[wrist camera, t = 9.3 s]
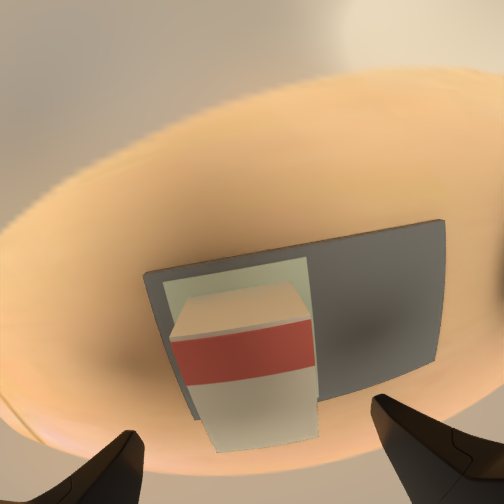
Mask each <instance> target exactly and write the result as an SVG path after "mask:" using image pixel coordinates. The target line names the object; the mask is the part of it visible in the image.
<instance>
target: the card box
mask: <svg viewBox="0 0 504 504" xmlns="http://www.w3.org/2000/svg"><path fill="white" fill-rule="evenodd" d="M169 339H170V345H171V348H172V350H173V353H174V356H175V359H176V362H177V364H178V367H179V370H180V372H181V375H182V378H183V380H184V383H185V385H186V386H187V388H188V390H189V393H190V395H191V398H192V400H193V402H194V405H195V407H196V409H197V412H198V414H199V416H200V419H201V421H202V423H203V425H204V427H205V430H206V432H207V434H208V436H209V438H210V440H211V442H212V444H213V446H214V448H215V450H216V452H217V453H219V452H232V451H242V450H251V449H259V448H266V447H272V446H278V445H284V444H289V443H294V442H299V441H304V440H308V439H313V438H317V437H319V430H318V408H317V390H316V375H315V355H314V343H313V332H312V322H311V318H310V313H309V311H308V310H307V308H306V306H305V305H304V303H303V301H302V299H301V298H300V296H299V294H298V293H297V291H296V289H295V288H294V286H293V284H292V283H291V281H290V280H286V281H281V282H276V283H270V284H265V285H259V286H254V287H248V288H243V289H237V290H231V291H226V292H220V293H214V294H208V295H202V296H195V297H189V298H187V300H186V302H185V305H184V307H183V309H182V311H181V313H180V315H179V317H178V319H177V321H176V323H175V326H174V328H173V330H172V332H171V334H170V336H169Z"/></svg>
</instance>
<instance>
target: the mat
mask: <svg viewBox="0 0 504 504" xmlns="http://www.w3.org/2000/svg"><path fill="white" fill-rule="evenodd" d="M445 265H446V233H445V220H440V219H438V220H432V221H427V222H421V223H416V224H410V225H405V226H399V227H394V228H388V229H383V230H377V231H372V232H366V233H361V234H355V235H350V236H344V237H339V238H333V239H328V240H322V241H317V242H311V243H306V244H300V245H295V246H289V247H284V248H278V249H272V250H267V251H261V252H256V253H250V254H245V255H239V256H234V257H228V258H222V259H217V260H211V261H206V262H200V263H195V264H189V265H183V266H178V267H172V268H167V269H161V270H155V271H150V272H146V273H145V274H144V275H143V279H144V283H145V286H146V290H147V293H148V297H149V300H150V303H151V307H152V310H153V313H154V316H155V320H156V323H157V326H158V329H159V332H160V335H161V338H162V341H163V344H164V346H165V349H166V352H167V355H168V357H169V360H170V363H171V365H172V368H173V371H174V373H175V376H176V378H177V381H178V383H179V386H180V388H181V391H182V393H183V395H184V398H185V400H186V402H187V405H188V407H189V409H190V411H191V414H192V416H193V418H194V420H201V419H200V416H199V414H198V412H197V409H196V407H195V405H194V402H193V400H192V398H191V395H190V393H189V390H188V388H187V386H186V385H185V383H184V380H183V378H182V375H181V372H180V370H179V367H178V364H177V362H176V359H175V356H174V353H173V350H172V348H171V345H170V339H169V336H170V334H171V332H172V330H173V328H174V326H175V323H176V321H177V319H178V317H179V315H180V313H181V311H182V309H183V307H184V305H185V302H186V300H187V298H189V297H195V296H202V295H208V294H214V293H220V292H226V291H231V290H237V289H243V288H248V287H254V286H259V285H265V284H270V283H276V282H281V281H286V280H290V281H291V283H292V284H293V286H294V288H295V289H296V291H297V293H298V294H299V296H300V298H301V299H302V301H303V303H304V305H305V306H306V308H307V310H308V311H309V313H310V318H311V322H312V332H313V343H314V355H315V375H316V390H317V402H319V401H323V400H327V399H331V398H335V397H338V396H342V395H345V394H349V393H352V392H355V391H358V390H362V389H365V388H368V387H371V386H374V385H376V384H379V383H382V382H385V381H388V380H390V379H393V378H396V377H398V376H401V375H403V374H406V373H408V372H411V371H413V370H415V369H418V368H420V367H422V366H424V365H427V364H429V363H431V362H433V361H435V356H436V351H437V345H438V339H439V333H440V326H441V318H442V309H443V299H444V286H445Z"/></svg>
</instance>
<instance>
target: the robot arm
mask: <svg viewBox="0 0 504 504" xmlns="http://www.w3.org/2000/svg"><path fill="white" fill-rule="evenodd" d="M371 416H372V419H373V422H374V424H375V427H376V430H377V433H378V435H379V438H380V441H381V443H382V446H383V448H384V450H385V452H386V454H387V456H388V457H389V459H390V461H391V463H392V465H393V467H394V469H395V471H396V473H397V475H398V477H399V479H400V481H401V483H402V484H403V486H404V488H405V490H406V492H407V494H408V496H409V498H410V500H411V502H412V504H504V444H503V443H499V442H494V441H490V440H487V439H483V438H479V437H476V436H473V435H470V434H467V433H464V432H462V431H459V430H457V429H455V428H452V427H450V426H448V425H446V424H444V423H442V422H440V421H437V420H435V419H433V418H431V417H429V416H427V415H425V414H423V413H421V412H419V411H417V410H415V409H413V408H411V407H409V406H407V405H405V404H403V403H401V402H399V401H397V400H395V399H393V398H391V397H389V396H387V395H385V394H379V395H377V396H374V397H373V398H372V404H371ZM144 450H145V446H144V443H143V441H142V440H141V438H140V437H139V435H138V434H137V432H136V431H134V430H125V431H124V432H122V433H121V434H120V435H119V436H118V437H117V438H115V439H114V440H113V441H112V442H111V443H110V444H108V445H107V446H106V447H105V448H104V449H102V450H101V451H100V452H99V453H98V454H96V455H95V456H94V457H93V458H91V459H90V460H89V461H88V462H87V463H85V464H84V465H83V466H82V467H80V468H79V469H78V470H77V471H75V472H74V473H73V474H72V475H71V476H69V477H68V478H66V479H65V480H64V481H62V482H61V483H59V484H58V485H57V486H55V487H53V488H52V489H50V490H49V491H47V492H45V493H43V494H42V495H40V496H38V497H36V498H34V499H32V500H30V501H27V502H13V501H4V500H0V504H138V501H139V495H140V490H141V484H142V478H143V464H144Z"/></svg>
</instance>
